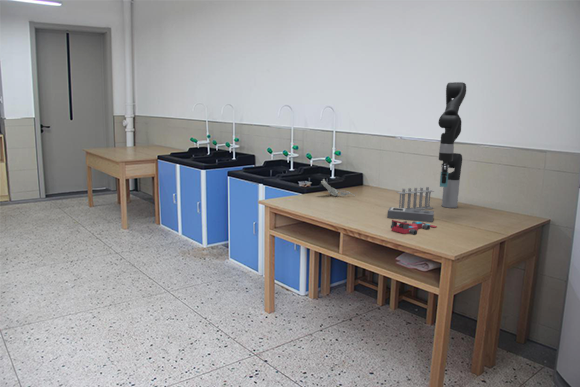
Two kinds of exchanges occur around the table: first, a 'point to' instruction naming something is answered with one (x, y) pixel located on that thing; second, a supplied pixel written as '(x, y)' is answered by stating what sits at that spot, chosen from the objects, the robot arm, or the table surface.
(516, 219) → the table surface
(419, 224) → the race car
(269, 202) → the table surface
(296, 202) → the table surface
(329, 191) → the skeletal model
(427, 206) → the test tube rack
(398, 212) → the power strip
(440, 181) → the block
